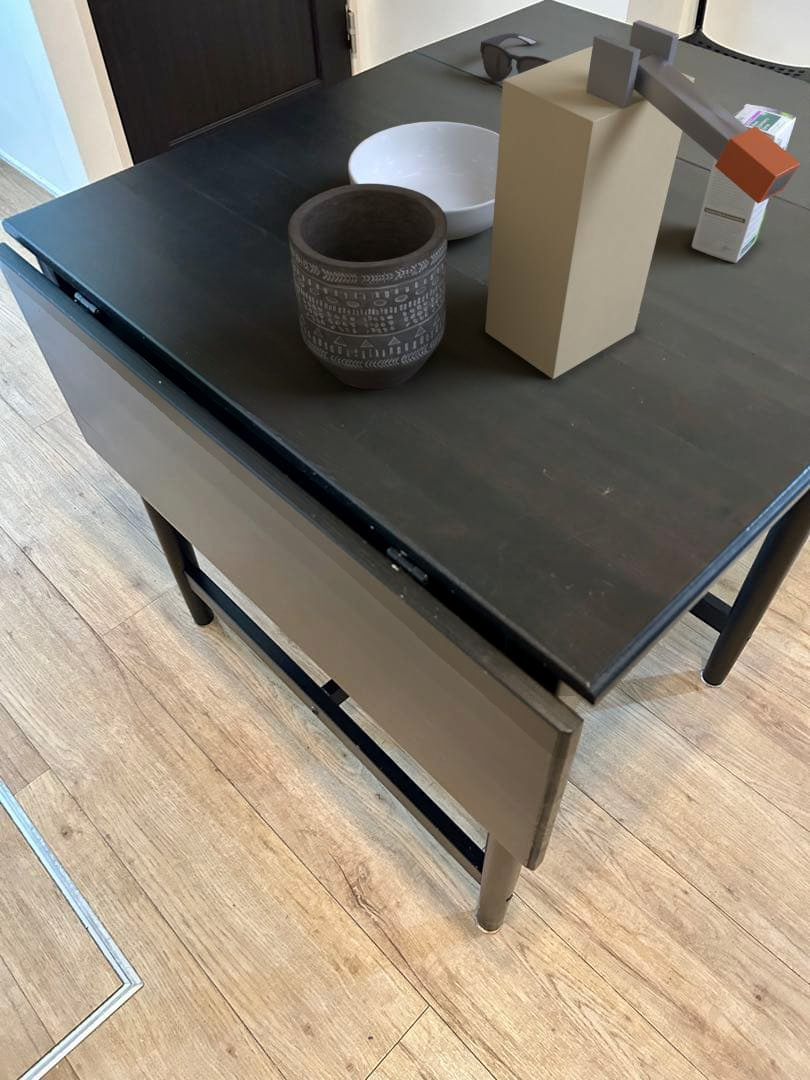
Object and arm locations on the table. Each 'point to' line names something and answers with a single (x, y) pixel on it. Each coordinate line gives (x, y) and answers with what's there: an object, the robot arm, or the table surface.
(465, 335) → the table surface
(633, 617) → the table surface
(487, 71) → the sunglasses
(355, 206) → the planter
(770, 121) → the syrup box
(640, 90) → the lever
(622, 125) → the lever stand
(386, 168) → the serving bowl
